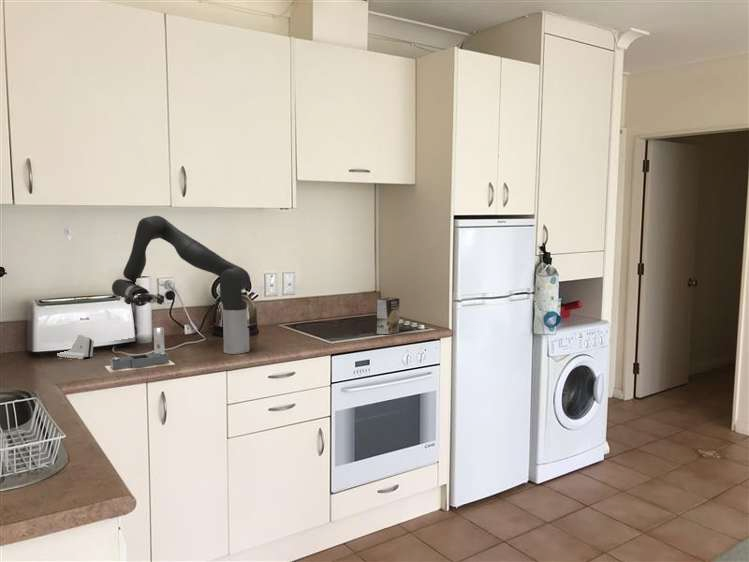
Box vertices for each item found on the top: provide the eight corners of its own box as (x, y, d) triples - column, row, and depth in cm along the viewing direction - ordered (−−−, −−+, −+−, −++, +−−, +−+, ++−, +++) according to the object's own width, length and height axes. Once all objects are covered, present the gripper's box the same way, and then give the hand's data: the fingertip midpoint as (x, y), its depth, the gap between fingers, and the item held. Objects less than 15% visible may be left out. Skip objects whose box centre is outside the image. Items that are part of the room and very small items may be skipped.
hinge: (47, 357, 243) (53, 331, 246) (56, 358, 248) (62, 333, 250) (82, 360, 238) (88, 334, 240) (91, 362, 242) (97, 336, 245)
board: (167, 360, 238) (167, 358, 238) (175, 366, 230) (175, 364, 230) (104, 368, 226) (104, 366, 226) (110, 374, 218) (110, 372, 218)
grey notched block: (164, 360, 236) (164, 350, 236) (170, 364, 230) (169, 354, 230) (109, 366, 226) (109, 356, 226) (113, 370, 220) (113, 360, 219)
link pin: (163, 358, 243) (162, 326, 242) (165, 359, 240) (164, 328, 239) (153, 359, 241) (152, 327, 240) (155, 361, 238) (154, 329, 237)
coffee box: (387, 335, 290) (388, 300, 288) (376, 333, 294) (376, 299, 292) (399, 332, 297) (399, 298, 296) (388, 330, 301) (388, 297, 299)
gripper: (119, 286, 254) (131, 293, 241) (155, 285, 263) (168, 291, 250) (118, 305, 255) (130, 313, 242) (154, 303, 264) (168, 310, 251)
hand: (150, 302), depth 246 cm, fingers open, 8 cm apart
